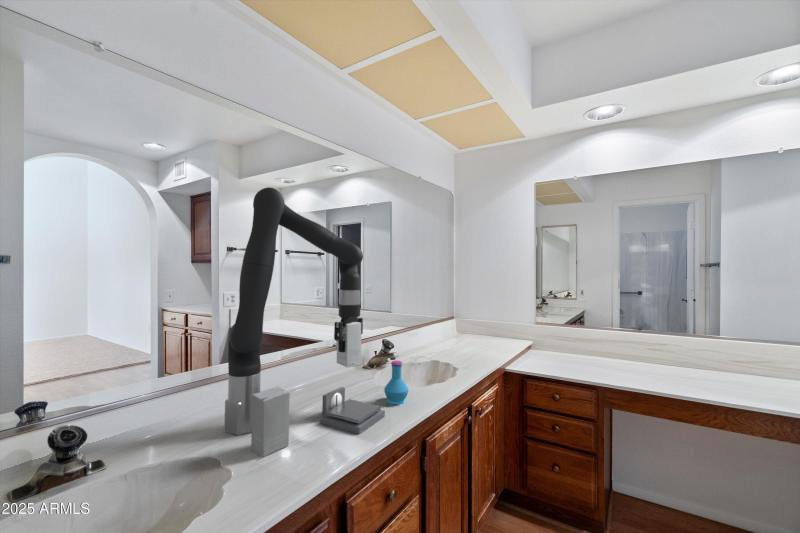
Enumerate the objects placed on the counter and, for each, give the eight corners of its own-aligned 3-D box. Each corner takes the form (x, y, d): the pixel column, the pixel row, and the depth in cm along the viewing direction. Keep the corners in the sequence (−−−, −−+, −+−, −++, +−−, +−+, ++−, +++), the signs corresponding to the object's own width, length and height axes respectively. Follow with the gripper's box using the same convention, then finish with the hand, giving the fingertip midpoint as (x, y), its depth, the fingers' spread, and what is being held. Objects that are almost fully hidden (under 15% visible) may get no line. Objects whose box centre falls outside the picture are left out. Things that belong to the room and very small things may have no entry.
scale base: (359, 434, 110) (359, 407, 110) (317, 422, 118) (317, 397, 118) (384, 416, 123) (385, 393, 123) (345, 407, 131) (345, 384, 131)
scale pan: (358, 425, 111) (358, 420, 111) (325, 416, 117) (325, 411, 117) (380, 410, 123) (380, 406, 123) (349, 403, 129) (349, 399, 129)
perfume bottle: (412, 404, 135) (412, 363, 135) (388, 407, 132) (389, 365, 132) (402, 395, 143) (403, 357, 144) (380, 398, 140) (381, 359, 140)
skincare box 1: (276, 439, 106) (277, 385, 106) (290, 447, 101) (291, 390, 101) (248, 450, 99) (249, 392, 99) (262, 459, 95) (263, 398, 95)
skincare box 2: (361, 366, 125) (363, 322, 125) (346, 368, 121) (347, 323, 122) (349, 360, 132) (351, 319, 132) (334, 362, 128) (336, 320, 128)
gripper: (352, 300, 135) (351, 344, 135) (328, 303, 122) (327, 352, 122) (369, 302, 131) (368, 347, 131) (346, 305, 118) (345, 355, 118)
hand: (348, 349), depth 126 cm, fingers closed on skincare box 2, 7 cm apart
